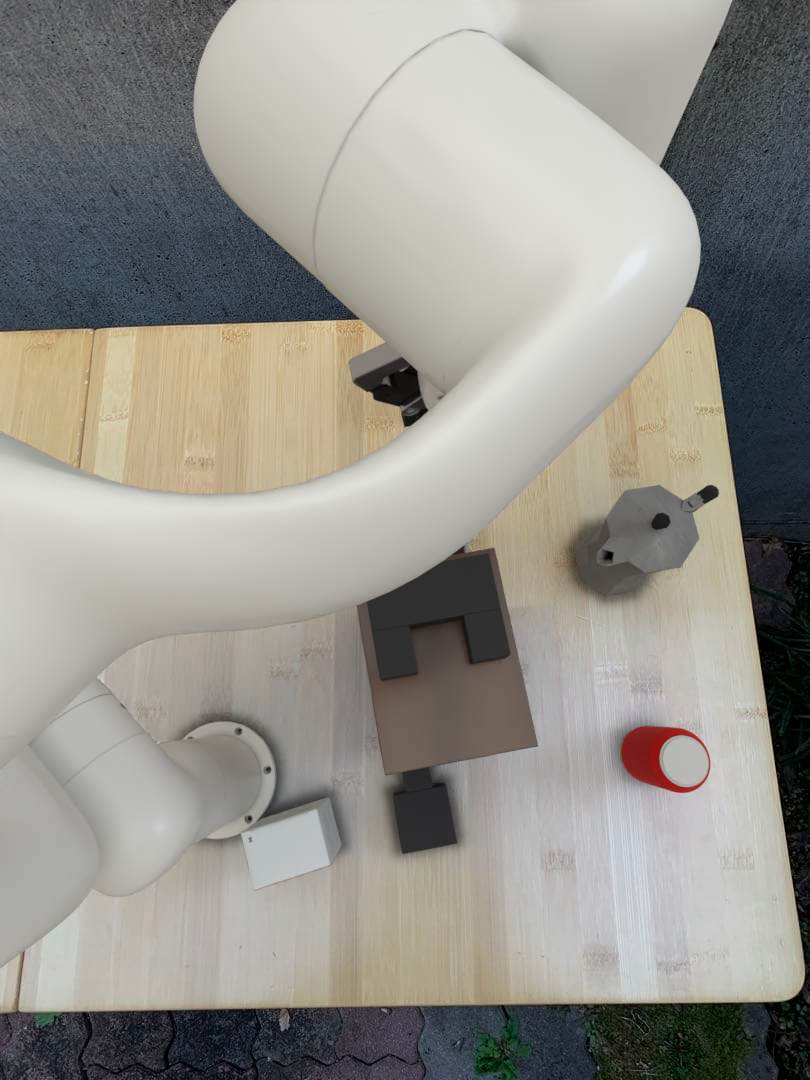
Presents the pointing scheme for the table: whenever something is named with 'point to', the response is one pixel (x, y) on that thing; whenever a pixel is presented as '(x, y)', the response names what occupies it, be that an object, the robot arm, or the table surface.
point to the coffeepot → (640, 538)
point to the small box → (291, 843)
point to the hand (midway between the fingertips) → (488, 408)
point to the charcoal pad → (423, 813)
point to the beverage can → (666, 758)
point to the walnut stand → (449, 697)
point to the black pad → (439, 614)
